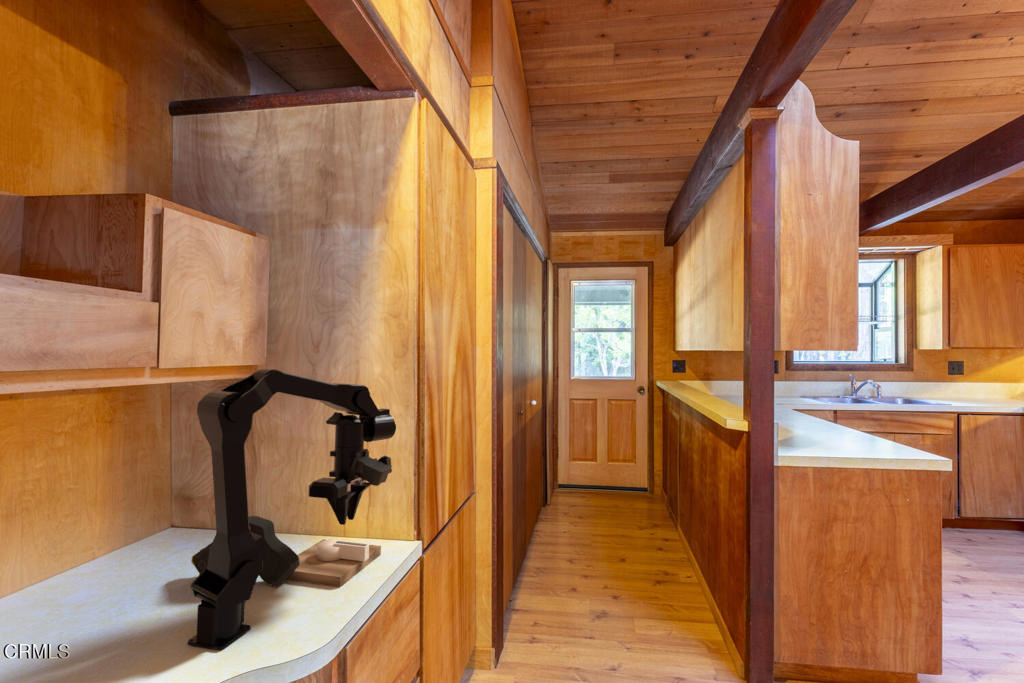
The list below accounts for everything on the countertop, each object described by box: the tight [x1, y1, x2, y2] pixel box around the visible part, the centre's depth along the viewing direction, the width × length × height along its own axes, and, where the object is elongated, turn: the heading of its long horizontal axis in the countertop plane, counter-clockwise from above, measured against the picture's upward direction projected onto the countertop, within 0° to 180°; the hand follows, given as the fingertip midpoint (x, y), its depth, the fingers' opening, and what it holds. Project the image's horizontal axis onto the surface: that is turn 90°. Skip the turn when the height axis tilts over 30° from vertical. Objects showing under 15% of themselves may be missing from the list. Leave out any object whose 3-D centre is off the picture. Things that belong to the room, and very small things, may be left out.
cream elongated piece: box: [316, 538, 370, 561], centre depth 107 cm, size 12×6×3 cm, turn 78°
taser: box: [190, 515, 300, 588], centre depth 100 cm, size 4×18×15 cm
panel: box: [286, 539, 382, 588], centre depth 108 cm, size 17×15×2 cm
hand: (346, 521), depth 101 cm, fingers open, 3 cm apart
